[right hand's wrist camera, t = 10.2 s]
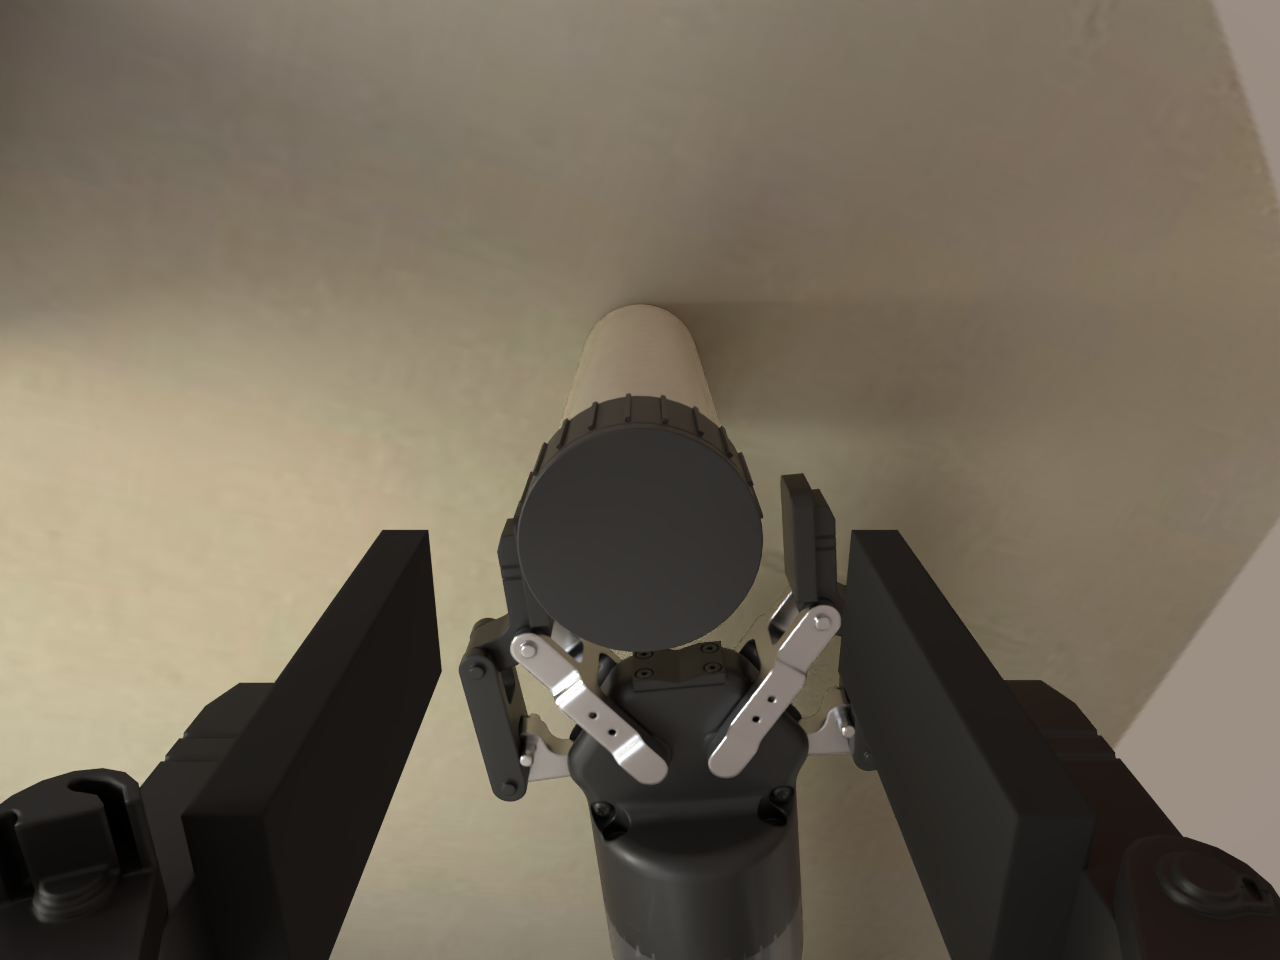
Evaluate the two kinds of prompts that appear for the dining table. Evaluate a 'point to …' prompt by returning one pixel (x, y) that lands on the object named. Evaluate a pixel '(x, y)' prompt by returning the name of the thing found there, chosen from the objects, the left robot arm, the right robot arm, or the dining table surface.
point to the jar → (640, 362)
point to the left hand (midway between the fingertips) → (660, 494)
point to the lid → (640, 525)
